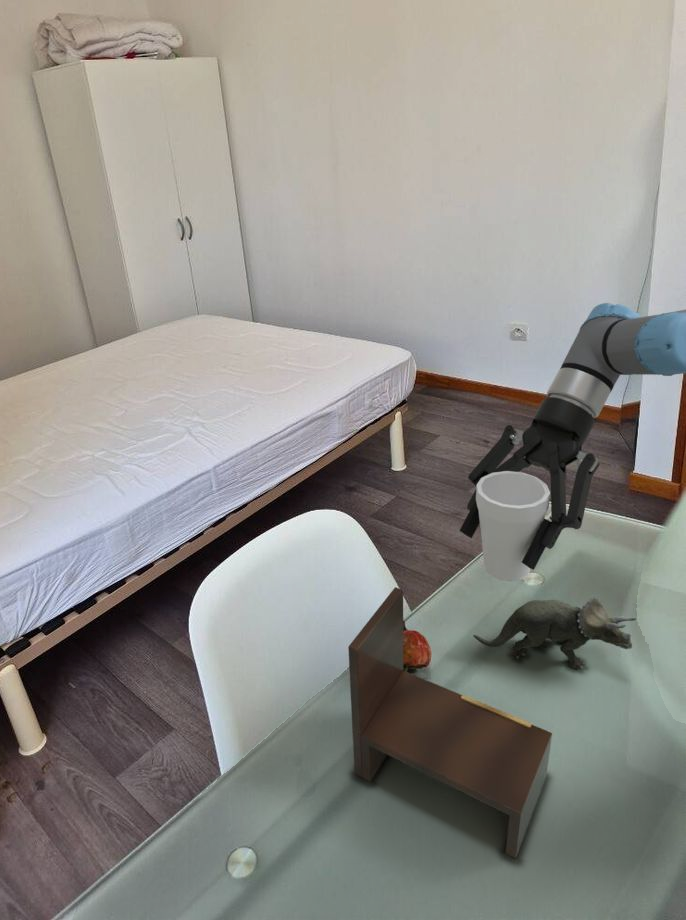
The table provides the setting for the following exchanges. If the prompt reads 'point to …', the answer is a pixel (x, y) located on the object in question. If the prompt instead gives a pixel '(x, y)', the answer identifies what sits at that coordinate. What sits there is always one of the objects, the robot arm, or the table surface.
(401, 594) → the shelf
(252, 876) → the table surface
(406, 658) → the pomegranate
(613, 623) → the toy dinosaur
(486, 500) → the foam cup
